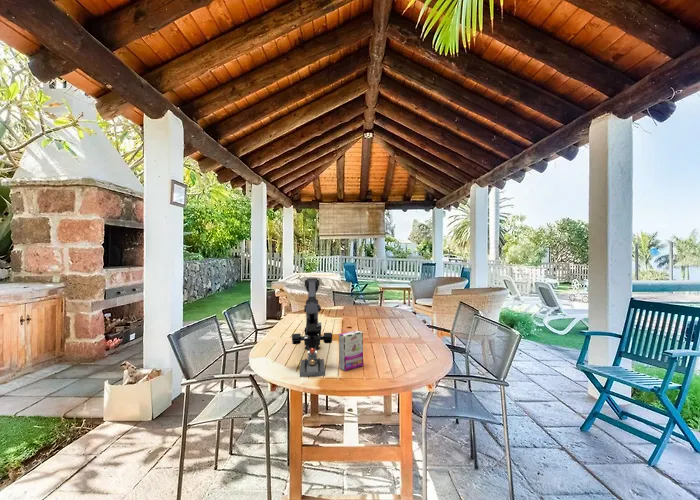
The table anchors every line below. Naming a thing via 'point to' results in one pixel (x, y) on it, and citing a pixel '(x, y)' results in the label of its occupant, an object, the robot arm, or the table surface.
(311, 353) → the lever
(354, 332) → the candy bar box
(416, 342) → the table surface
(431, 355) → the table surface
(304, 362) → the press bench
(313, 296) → the robot arm
